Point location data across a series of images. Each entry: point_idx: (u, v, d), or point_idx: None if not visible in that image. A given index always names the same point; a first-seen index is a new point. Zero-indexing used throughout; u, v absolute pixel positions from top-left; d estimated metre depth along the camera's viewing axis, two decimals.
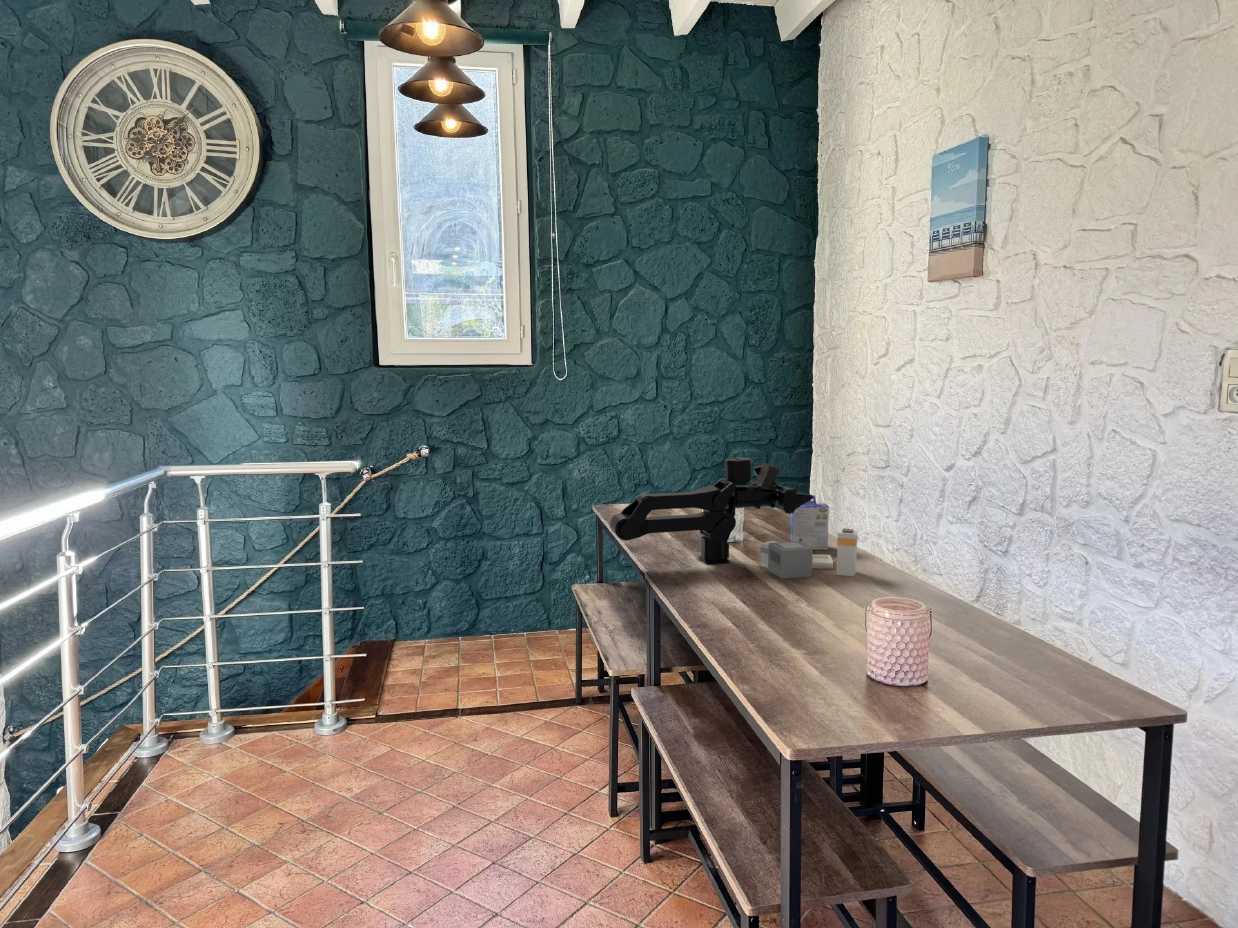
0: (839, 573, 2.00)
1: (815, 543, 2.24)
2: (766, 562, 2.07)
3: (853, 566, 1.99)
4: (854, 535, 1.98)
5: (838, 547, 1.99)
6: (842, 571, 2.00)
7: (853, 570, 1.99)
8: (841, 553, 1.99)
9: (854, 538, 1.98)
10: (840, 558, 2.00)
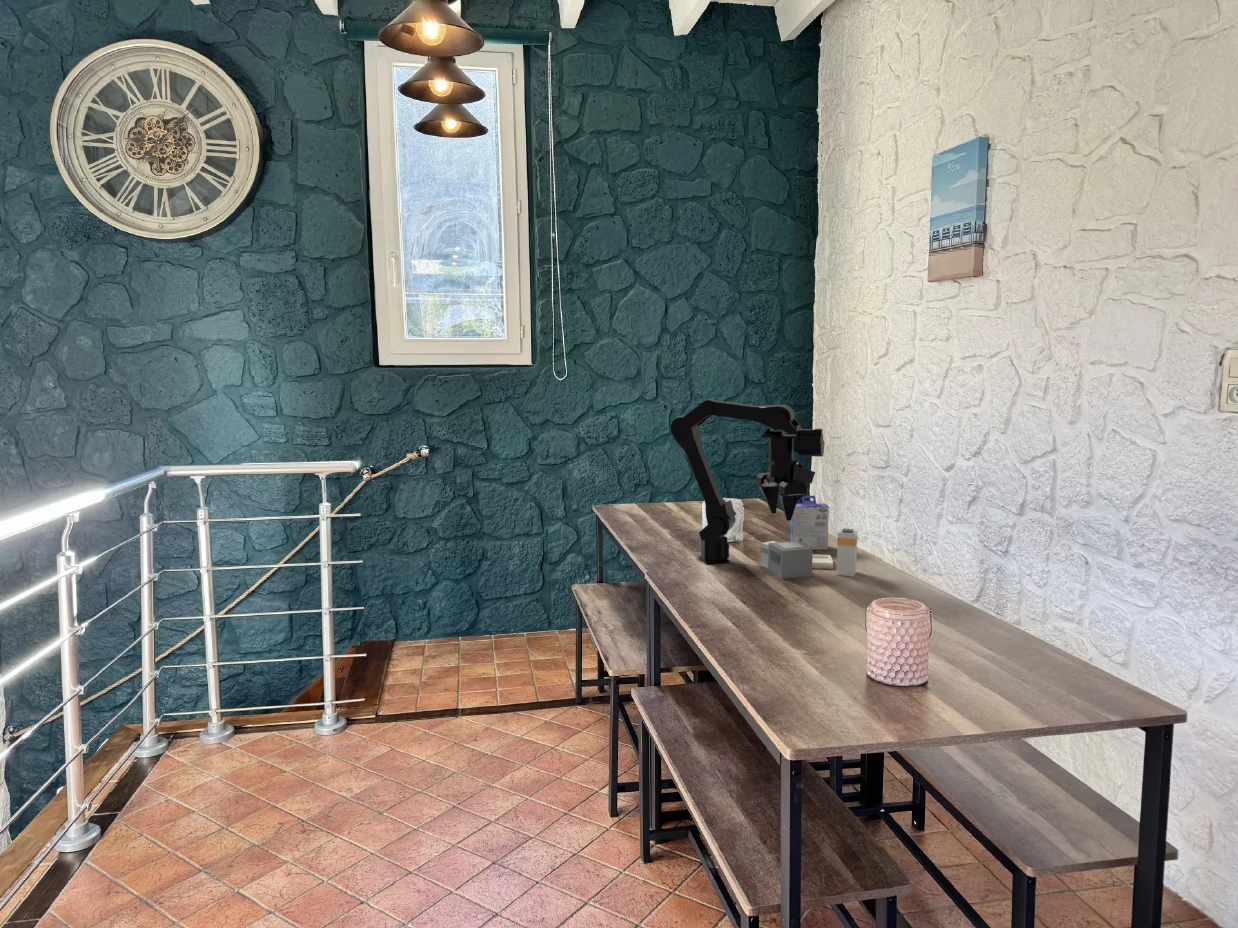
0: (839, 573, 2.00)
1: (815, 543, 2.24)
2: (766, 562, 2.07)
3: (853, 566, 1.99)
4: (854, 535, 1.98)
5: (838, 547, 1.99)
6: (842, 571, 2.00)
7: (853, 570, 1.99)
8: (841, 552, 1.99)
9: (854, 538, 1.98)
10: (840, 558, 2.00)
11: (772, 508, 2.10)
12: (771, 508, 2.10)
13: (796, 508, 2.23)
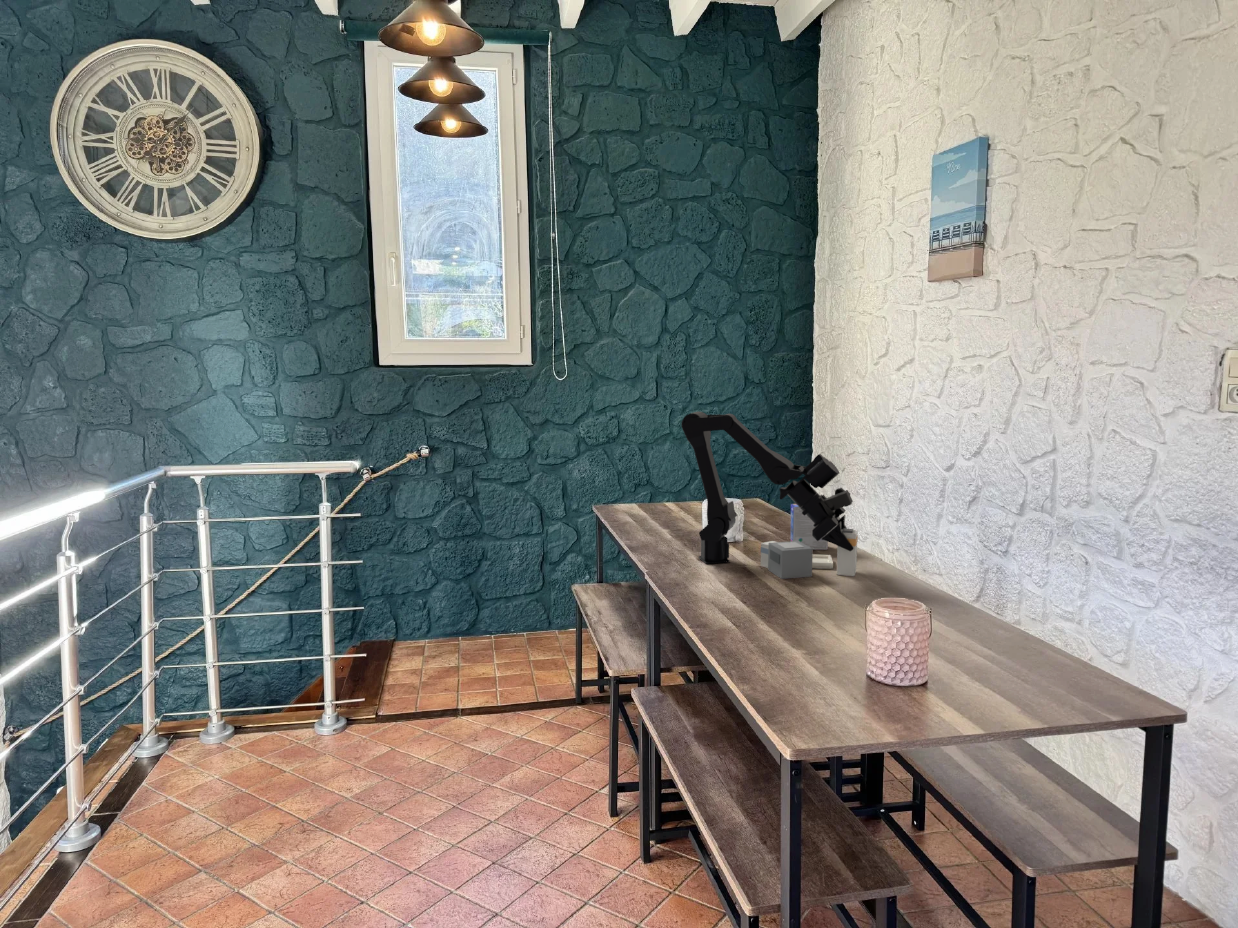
0: (839, 573, 2.00)
1: (815, 543, 2.24)
2: (766, 562, 2.07)
3: (853, 566, 1.99)
4: (854, 535, 1.98)
5: (838, 547, 1.99)
6: (842, 571, 2.00)
7: (853, 570, 1.99)
8: (841, 552, 1.99)
9: (854, 538, 1.98)
10: (840, 558, 2.00)
11: None
12: None
13: (796, 508, 2.23)
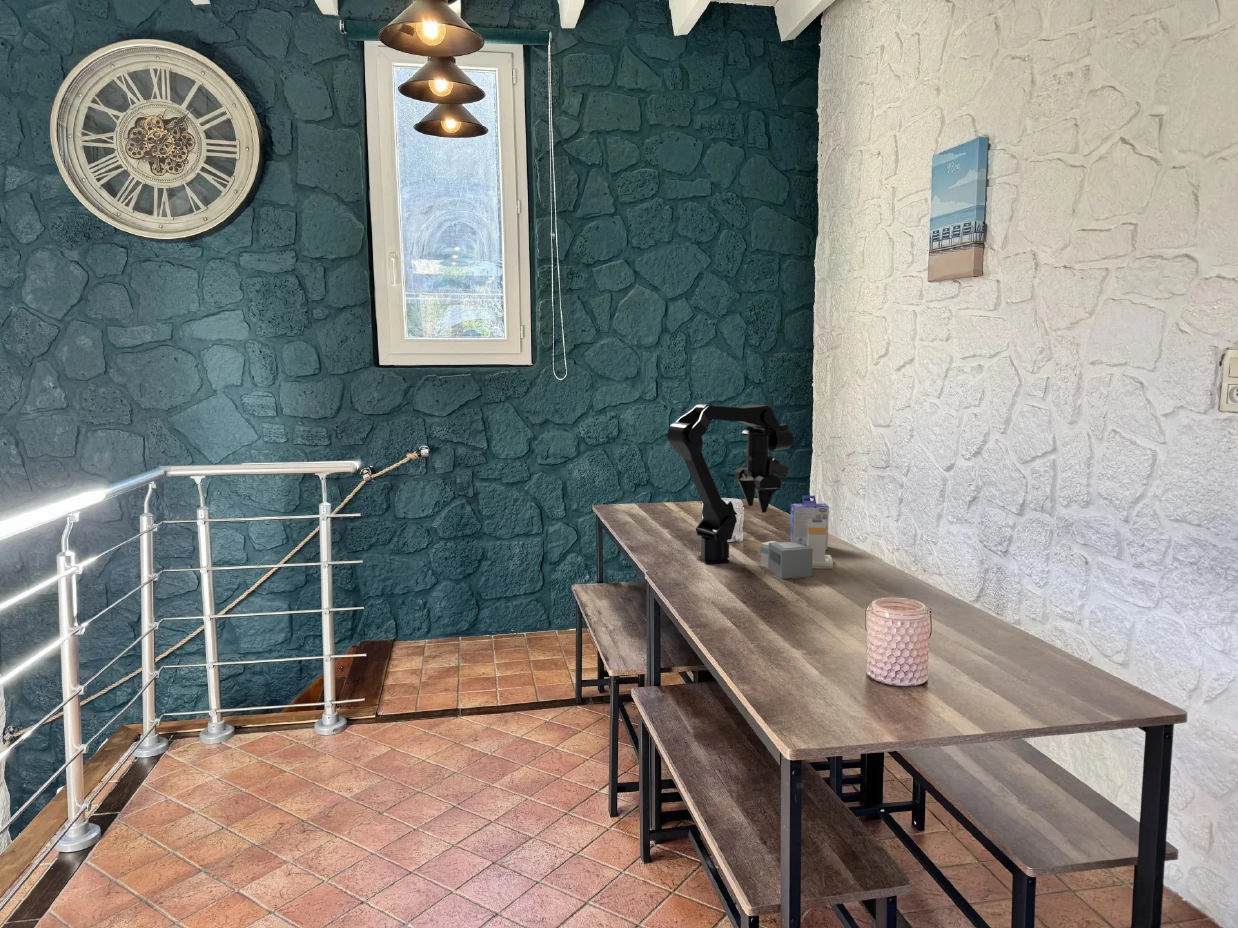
0: None
1: None
2: (766, 562, 2.07)
3: (824, 554, 2.07)
4: (825, 524, 2.06)
5: (809, 536, 2.07)
6: (813, 559, 2.08)
7: (824, 558, 2.07)
8: (812, 541, 2.07)
9: (825, 527, 2.06)
10: (811, 547, 2.07)
11: (749, 501, 2.24)
12: (748, 501, 2.24)
13: (796, 508, 2.23)
